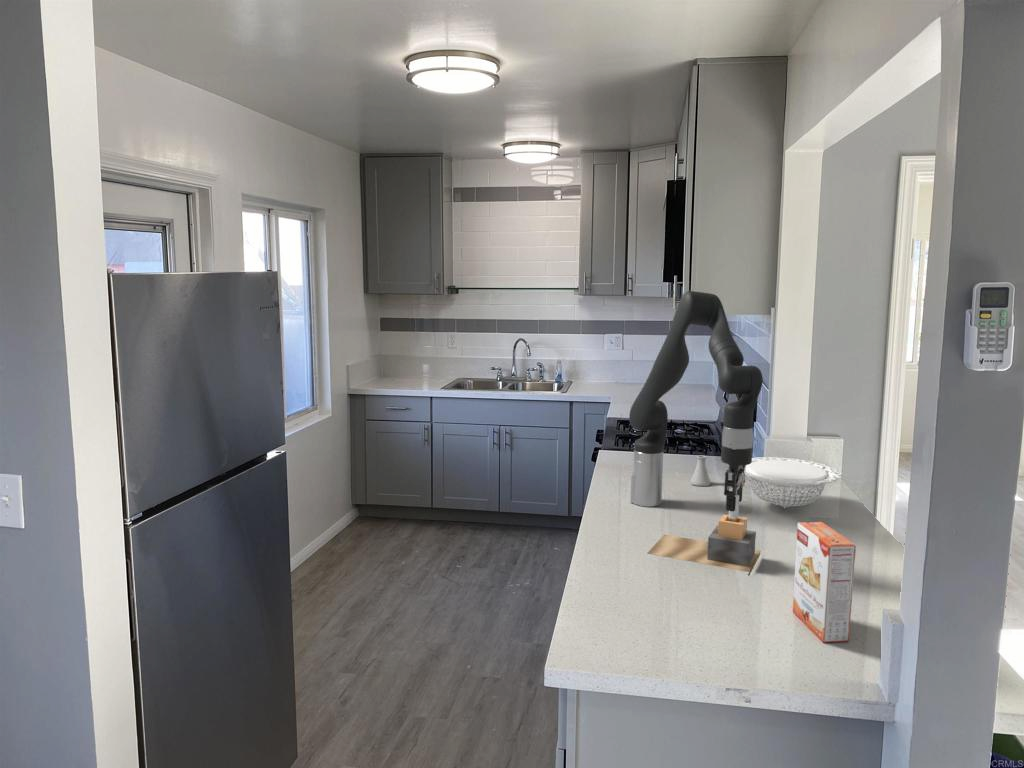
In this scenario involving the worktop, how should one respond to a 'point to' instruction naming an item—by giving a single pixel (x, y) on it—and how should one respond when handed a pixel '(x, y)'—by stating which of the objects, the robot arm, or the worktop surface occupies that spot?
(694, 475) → the flask
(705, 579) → the worktop surface
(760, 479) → the white openwork bowl
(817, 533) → the cracker box
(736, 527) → the block
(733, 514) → the steel shaft
